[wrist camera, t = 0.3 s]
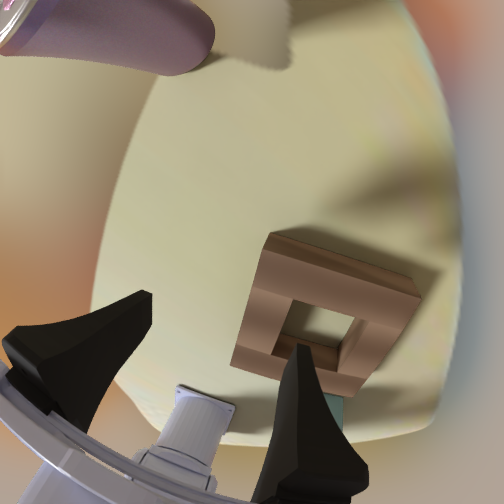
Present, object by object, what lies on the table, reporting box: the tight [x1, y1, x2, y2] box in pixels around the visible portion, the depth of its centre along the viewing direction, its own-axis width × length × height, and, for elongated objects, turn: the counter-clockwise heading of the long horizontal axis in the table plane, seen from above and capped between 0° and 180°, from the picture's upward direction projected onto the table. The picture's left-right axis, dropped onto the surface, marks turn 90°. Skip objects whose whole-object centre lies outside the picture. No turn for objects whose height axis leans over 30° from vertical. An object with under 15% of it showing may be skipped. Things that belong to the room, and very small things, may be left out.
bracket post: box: [323, 393, 343, 431], centre depth 24 cm, size 4×4×8 cm
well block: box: [230, 233, 422, 398], centre depth 22 cm, size 12×12×3 cm
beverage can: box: [0, 0, 215, 76], centre depth 9 cm, size 6×6×15 cm
